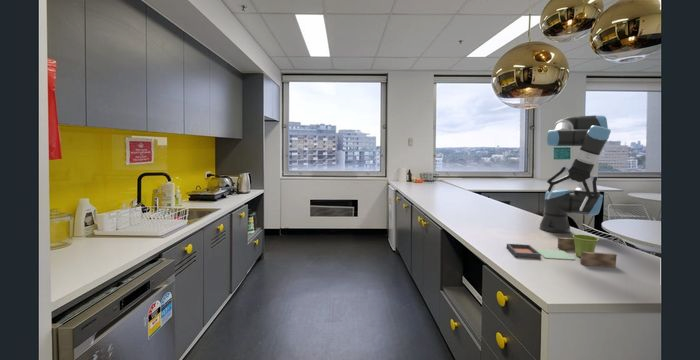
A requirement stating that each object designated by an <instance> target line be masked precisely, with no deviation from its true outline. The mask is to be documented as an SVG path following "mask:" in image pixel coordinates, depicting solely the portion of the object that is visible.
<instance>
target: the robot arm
mask: <svg viewBox="0 0 700 360" xmlns="http://www.w3.org/2000/svg"><path fill="white" fill-rule="evenodd" d="M611 131H612V130H611V129H610V128H608V120H607V117H606V116H605V115H595V114H594V115H579V116H578V115H577V116H575V115H573V116H568V117H565V118H562V119H559V120H558V121H556V122H555V123H554V124H553V127H552V129H549V130H548V131H547V136H546V145H547V146H549V147H580V149H579V150H578V152H577V155H576V156H575V157H576V159H574V160H573V162H572V165H571V167H570V168H569V167H567V166H565V165H563V166H562V167H561V168H560V170H558V171H557V172H556V173H554V174H553V175H552V176H551V177H550V178H548V179H547V181H546V182H547V183H548V184H549V187H548V189H547V191H546V192H545V194H544V208H543V217H542V219H541V220H540V223H539V229H540V230H541V231H546V232H550V233H556V234H557V233H558V234H559V233H560V234H561V233H562V234H567V233H568V234H569V233H570V232H571V225H570V223H569V219H568V214H575V215H585V216H596V215H597V216H598V215H599V214H600V211H601V208H602V204H603V199H604V195H603V194H601V191H600V190H599V189H598V188H597V187H598V174H599V162H600V154H601V153H602V152H603V149H604V147H605V145H606V144H607V141H608V140H609V138H610V135H611V133H612V132H611ZM566 172H568V174H567V175H565V176H563V177H560V178H558V177H559V176H560V175H562V174H563V173H566ZM555 179H556V180H555ZM569 179H570V180H572V181H576V182H577V187H575V188H574V189H573V192H570V189H555V187H556V185H557V184H560V183H561V182H565V181H566V180H567V181H568V180H569Z"/></svg>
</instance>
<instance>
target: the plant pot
mask: <svg viewBox="0 0 700 360" xmlns="http://www.w3.org/2000/svg"><path fill="white" fill-rule="evenodd" d="M572 238H574V241H575V250H574V251H575V256H576V257H578V258H581V252H595V249H596V247H597V246H596V245H597V244H598V242H599V241H600V238H599V237H598V236H597V237H596V236H592V235H588V234H573V235H572Z"/></svg>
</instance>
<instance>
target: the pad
mask: <svg viewBox="0 0 700 360" xmlns="http://www.w3.org/2000/svg"><path fill="white" fill-rule="evenodd" d="M534 249H535V250H536V251H538V252H539V253H540V254H541V257H542V258H544V259H551V260H567V261H576V258H575V257H573V256H572V255H570V253H569V254H568V253H567V252H566V251H565V250H560V249H558V250H555V249H540V248H539V249H537V248H534Z"/></svg>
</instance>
